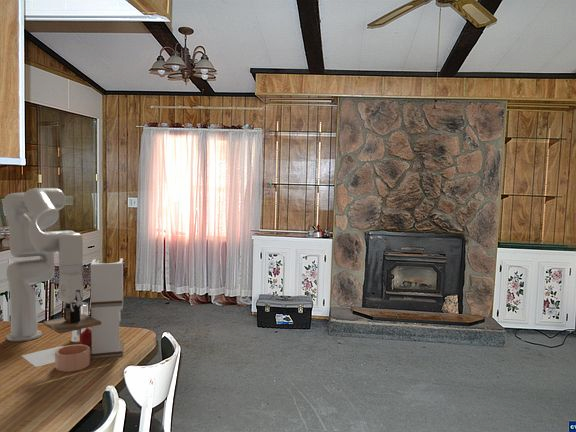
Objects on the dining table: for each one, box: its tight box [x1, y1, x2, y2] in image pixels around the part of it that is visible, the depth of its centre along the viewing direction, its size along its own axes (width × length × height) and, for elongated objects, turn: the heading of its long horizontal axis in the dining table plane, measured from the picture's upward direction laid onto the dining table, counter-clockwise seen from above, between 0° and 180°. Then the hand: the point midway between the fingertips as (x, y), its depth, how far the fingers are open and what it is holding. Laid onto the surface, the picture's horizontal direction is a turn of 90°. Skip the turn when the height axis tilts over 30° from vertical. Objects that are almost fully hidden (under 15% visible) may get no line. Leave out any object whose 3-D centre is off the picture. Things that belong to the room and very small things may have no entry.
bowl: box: [54, 343, 91, 373], centre depth 164 cm, size 11×11×6 cm
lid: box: [42, 308, 101, 334], centre depth 163 cm, size 14×14×6 cm
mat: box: [21, 345, 64, 368], centre depth 173 cm, size 15×15×1 cm
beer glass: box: [70, 301, 89, 343], centre depth 190 cm, size 7×7×15 cm
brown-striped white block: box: [90, 257, 125, 359], centre depth 177 cm, size 11×11×35 cm
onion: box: [79, 327, 92, 348], centre depth 183 cm, size 6×6×8 cm
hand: (72, 320), depth 163 cm, fingers closed on lid, 4 cm apart
